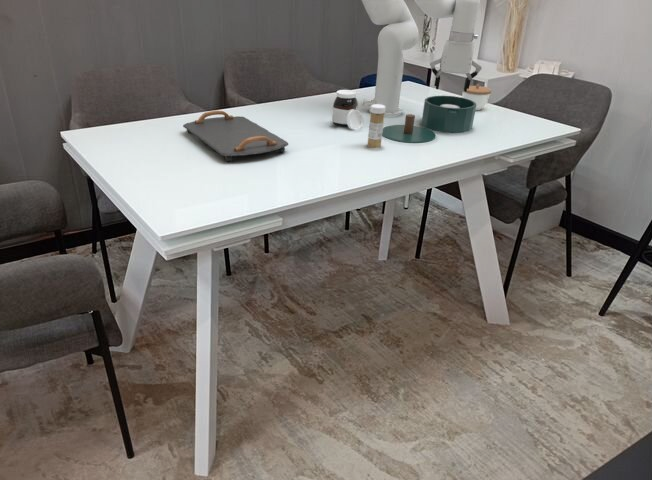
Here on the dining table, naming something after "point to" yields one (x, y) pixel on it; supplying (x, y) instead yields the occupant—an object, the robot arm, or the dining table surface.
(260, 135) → the serving tray
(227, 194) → the dining table surface
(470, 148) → the dining table surface
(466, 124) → the tin
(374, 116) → the sprinkles bottle
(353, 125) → the spread jar
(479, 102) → the white lidded jar
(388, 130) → the tin lid
